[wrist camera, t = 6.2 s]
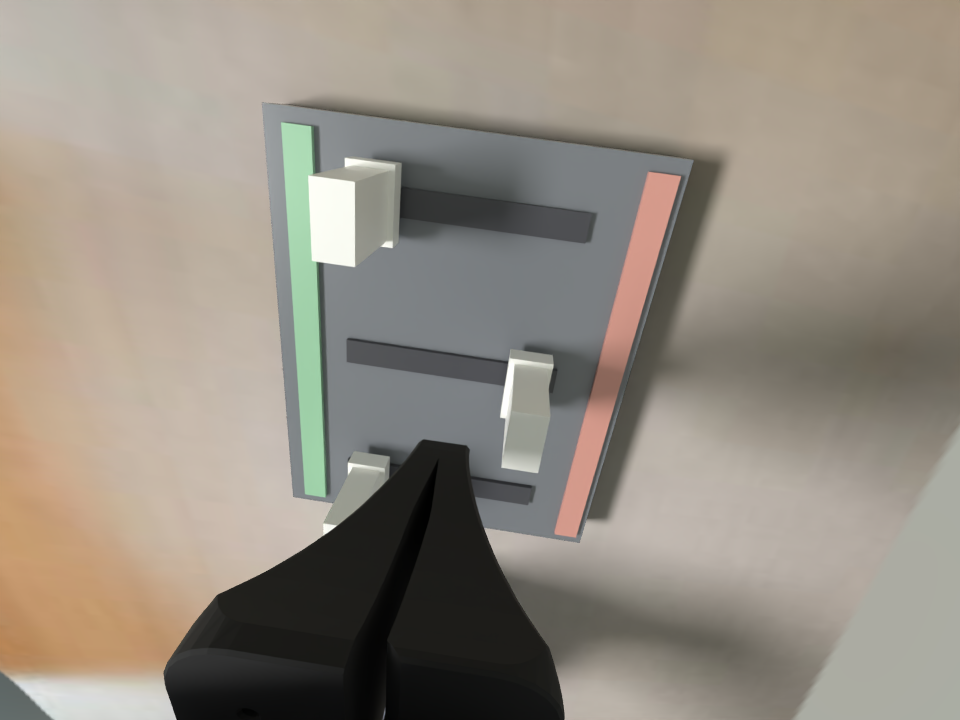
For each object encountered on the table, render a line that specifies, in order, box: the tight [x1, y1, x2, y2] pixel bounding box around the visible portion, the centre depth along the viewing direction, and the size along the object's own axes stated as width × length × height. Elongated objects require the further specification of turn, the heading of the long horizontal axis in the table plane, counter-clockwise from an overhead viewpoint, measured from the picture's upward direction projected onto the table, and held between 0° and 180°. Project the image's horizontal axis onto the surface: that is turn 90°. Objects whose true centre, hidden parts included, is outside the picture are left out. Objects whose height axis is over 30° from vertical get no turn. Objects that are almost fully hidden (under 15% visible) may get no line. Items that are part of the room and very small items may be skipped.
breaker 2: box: [323, 451, 390, 535], centre depth 20 cm, size 3×2×4 cm, turn 173°
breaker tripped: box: [500, 349, 554, 473], centre depth 17 cm, size 3×2×4 cm, turn 173°
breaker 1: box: [308, 156, 402, 267], centre depth 14 cm, size 3×2×4 cm, turn 173°
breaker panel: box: [262, 102, 694, 543], centre depth 20 cm, size 17×14×2 cm
